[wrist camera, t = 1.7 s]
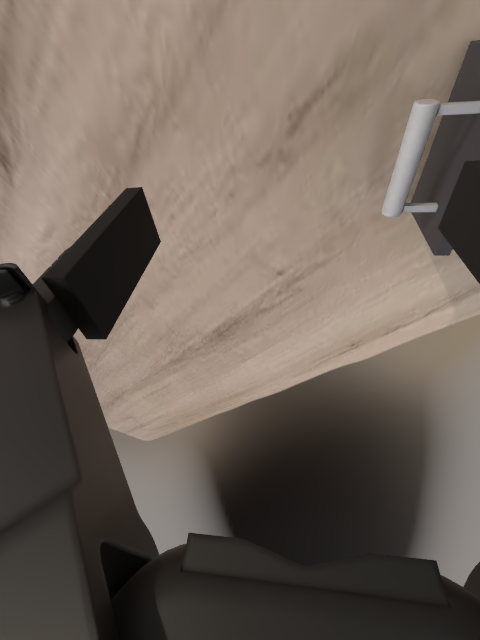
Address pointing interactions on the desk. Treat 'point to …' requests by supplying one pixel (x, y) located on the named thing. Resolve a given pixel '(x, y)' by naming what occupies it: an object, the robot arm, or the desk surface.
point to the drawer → (438, 153)
